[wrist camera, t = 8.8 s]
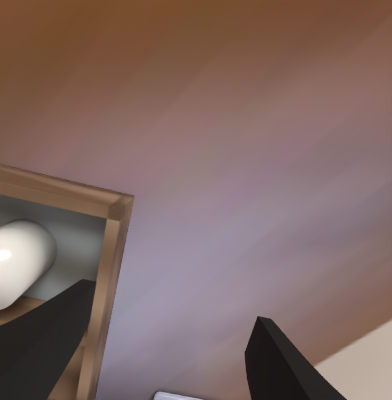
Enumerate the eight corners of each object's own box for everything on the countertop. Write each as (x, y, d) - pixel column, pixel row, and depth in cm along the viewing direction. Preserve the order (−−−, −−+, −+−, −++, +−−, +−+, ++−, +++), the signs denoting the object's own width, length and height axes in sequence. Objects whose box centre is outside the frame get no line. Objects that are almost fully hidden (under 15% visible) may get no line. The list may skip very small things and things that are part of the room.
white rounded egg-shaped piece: (53, 279, 21) (17, 318, 17) (-5, 266, 21) (-58, 302, 16) (61, 226, 20) (24, 253, 16) (-1, 212, 19) (-56, 235, 15)
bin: (93, 404, 25) (77, 447, 22) (-59, 376, 24) (-99, 416, 21) (134, 195, 20) (122, 209, 17) (-56, 150, 19) (-110, 155, 16)
